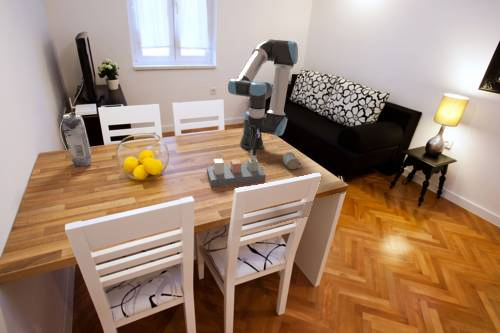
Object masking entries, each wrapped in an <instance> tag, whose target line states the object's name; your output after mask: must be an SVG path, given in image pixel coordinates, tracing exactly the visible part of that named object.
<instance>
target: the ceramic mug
mask: <svg viewBox="0 0 500 333" xmlns="http://www.w3.org/2000/svg"><path fill="white" fill-rule="evenodd" d="M282 162H283V163H284V166H286V168H287V169H288V170H292V171H293V170H295V169H297V168H299V169H300V168H302V166H303V164H302V163H301V162H300V161H299V160H298V158H297V157H296V155H295V154H294V153H293V152H291V151H289V152H286V153H284V155H283V156H282Z"/></svg>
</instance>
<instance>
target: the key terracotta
mask: <svg viewBox="0 0 500 333" xmlns="http://www.w3.org/2000/svg"><path fill="white" fill-rule="evenodd" d="M241 164H242V162H241V160H240V159H231V160H230V165H231V172H232V174H233V173H241Z"/></svg>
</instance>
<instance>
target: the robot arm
mask: <svg viewBox="0 0 500 333" xmlns="http://www.w3.org/2000/svg"><path fill="white" fill-rule="evenodd" d="M298 58H299V48H298V44H297V42H295V41H291V40H281V39H272V38H271V39H267V40H264V41H262V42H261V43H259V44H258V45H256V46H255V48H254V49H253V50H252V51H251V56H250V58H249V59H248V60H247V62H246V64H245V66H244V68H242V70H241V71H240V74H239V75H238V77H237V78H231V79H230V80H228V84H227V90H228V93H229V94H230V95H234V96H238V97H239V96H240V97H247V98H249V101H248V102H249V103H248V109H247V111H246V112H245V113H244V117H243V130H242V131H243V133H242V136H241V139H240V141H239V145H240V146H239V147H241V148H242V149H244V150H248V151H250V157H249V159H250V160H251V161H254V160H256V159H257V153H258V152H257V151H258V150H261V149H262V148H263V147H264V141H263V137H262V136H263V135H262V134H267V135H271V136H272V135H273V136H276V137H277V136H282V135H283V134H284V132H285V129H286V127H287V123H288V117H286V113H285V112H284V109H285V103H286V98H287V91H288V87H289V85H288V84H289V80H290V73H291V70H292V69H294V66H295V65H296V64H297V63H298ZM267 62H273V66H274V68H275V70H274V78H273V84H272V83H271V82H268V81H262V82H261V81H254V80H255V78H256V77H257V75H258V73H259V71H260V70H261V68H262V66H263V65H265V64H266V63H267ZM268 98H270V103H269V109H268V110H267V111H266V102H267V99H268ZM265 111H266V113H265Z"/></svg>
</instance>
